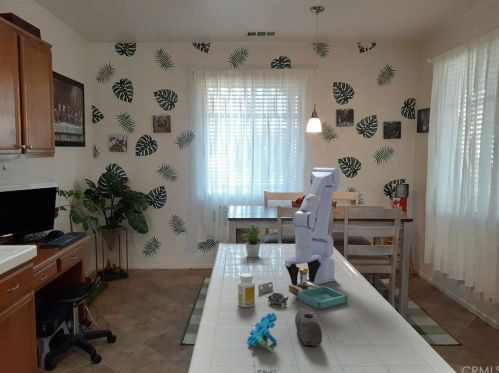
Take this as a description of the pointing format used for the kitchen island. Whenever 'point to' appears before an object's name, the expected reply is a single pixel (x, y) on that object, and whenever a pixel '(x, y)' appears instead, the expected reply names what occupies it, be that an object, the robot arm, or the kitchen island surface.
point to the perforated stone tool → (308, 327)
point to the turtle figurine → (277, 299)
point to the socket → (297, 288)
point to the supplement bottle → (246, 290)
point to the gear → (263, 332)
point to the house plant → (252, 241)
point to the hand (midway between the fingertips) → (303, 283)
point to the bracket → (268, 289)
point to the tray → (321, 297)
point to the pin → (303, 277)
